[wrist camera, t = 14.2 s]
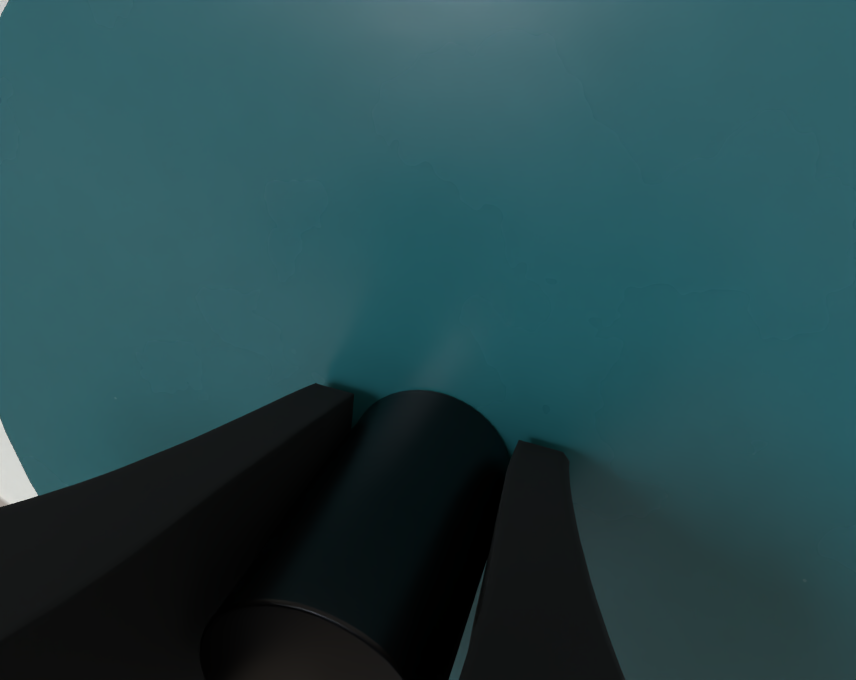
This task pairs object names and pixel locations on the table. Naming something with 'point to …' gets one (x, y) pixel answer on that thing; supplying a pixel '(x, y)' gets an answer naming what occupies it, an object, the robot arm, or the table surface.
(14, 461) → the table surface
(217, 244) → the teal disc
